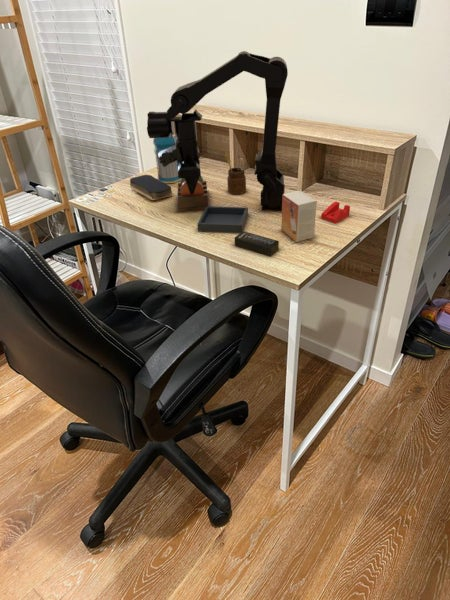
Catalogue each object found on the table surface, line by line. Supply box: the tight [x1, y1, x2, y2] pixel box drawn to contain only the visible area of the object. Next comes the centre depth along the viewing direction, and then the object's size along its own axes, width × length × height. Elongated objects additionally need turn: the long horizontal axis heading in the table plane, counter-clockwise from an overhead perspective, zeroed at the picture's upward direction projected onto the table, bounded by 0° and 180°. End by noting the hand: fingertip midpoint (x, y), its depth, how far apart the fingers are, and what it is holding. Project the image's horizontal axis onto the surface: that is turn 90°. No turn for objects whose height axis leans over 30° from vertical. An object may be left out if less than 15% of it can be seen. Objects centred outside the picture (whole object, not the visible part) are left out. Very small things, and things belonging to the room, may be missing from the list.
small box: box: [280, 190, 318, 243], centre depth 118 cm, size 8×6×10 cm
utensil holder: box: [224, 152, 247, 195], centre depth 143 cm, size 6×6×12 cm
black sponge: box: [129, 174, 173, 201], centre depth 148 cm, size 16×8×4 cm, turn 37°
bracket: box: [320, 201, 351, 224], centre depth 127 cm, size 6×5×3 cm
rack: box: [176, 180, 211, 214], centre depth 140 cm, size 10×12×5 cm
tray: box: [197, 205, 249, 234], centre depth 128 cm, size 12×11×2 cm
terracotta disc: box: [180, 181, 204, 195], centre depth 135 cm, size 7×1×7 cm, turn 94°
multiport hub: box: [234, 230, 280, 257], centre depth 116 cm, size 4×11×2 cm, turn 54°
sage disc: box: [180, 175, 204, 185], centre depth 141 cm, size 7×1×7 cm, turn 94°
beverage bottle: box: [152, 133, 181, 184], centre depth 153 cm, size 8×8×20 cm
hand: (192, 190), depth 135 cm, fingers open, 5 cm apart
